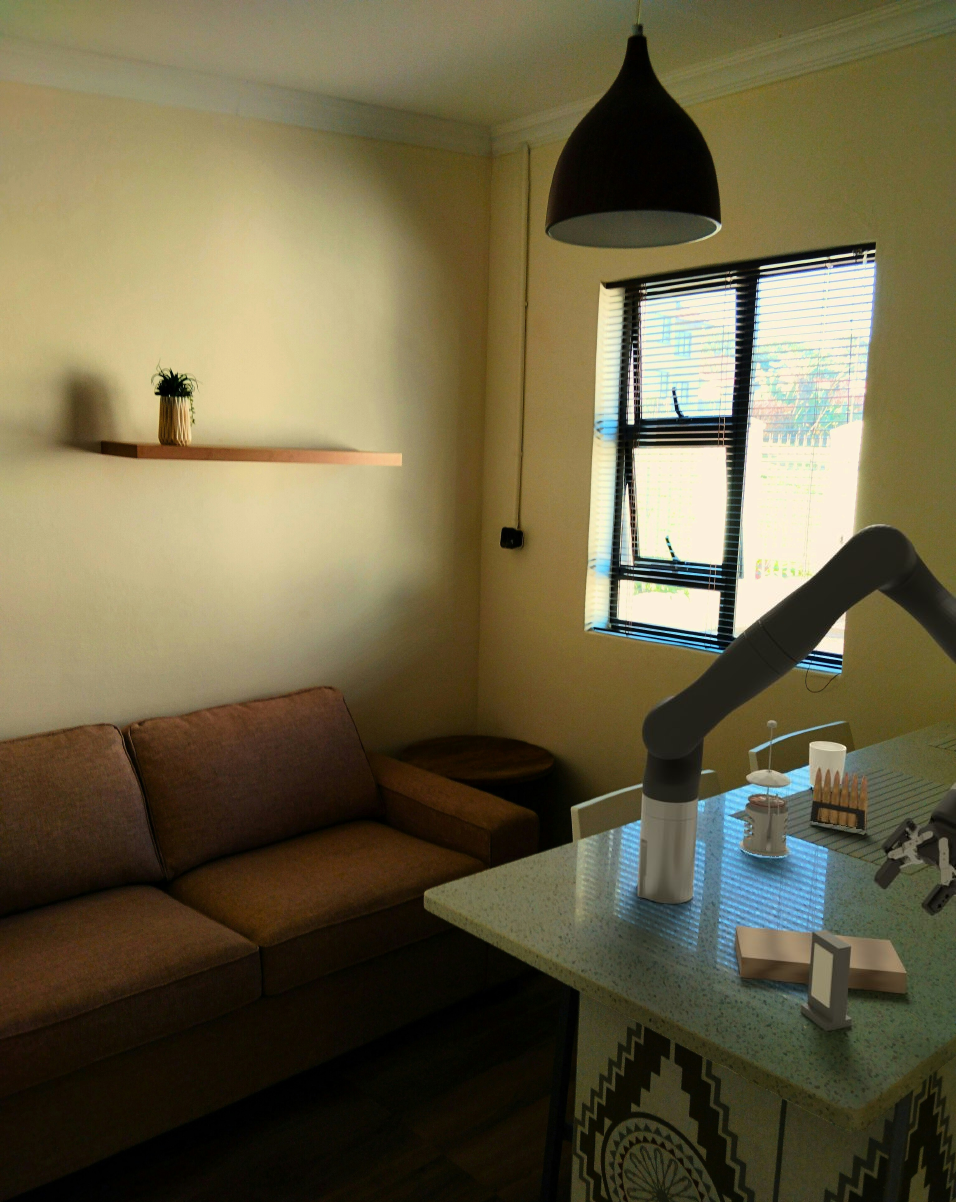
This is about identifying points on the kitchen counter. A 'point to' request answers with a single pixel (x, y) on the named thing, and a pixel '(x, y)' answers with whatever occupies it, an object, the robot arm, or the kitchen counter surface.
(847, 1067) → the kitchen counter surface
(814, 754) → the white cup
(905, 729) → the kitchen counter surface
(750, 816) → the french press
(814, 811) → the ammunition clip
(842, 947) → the picture frame
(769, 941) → the wooden block
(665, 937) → the kitchen counter surface
